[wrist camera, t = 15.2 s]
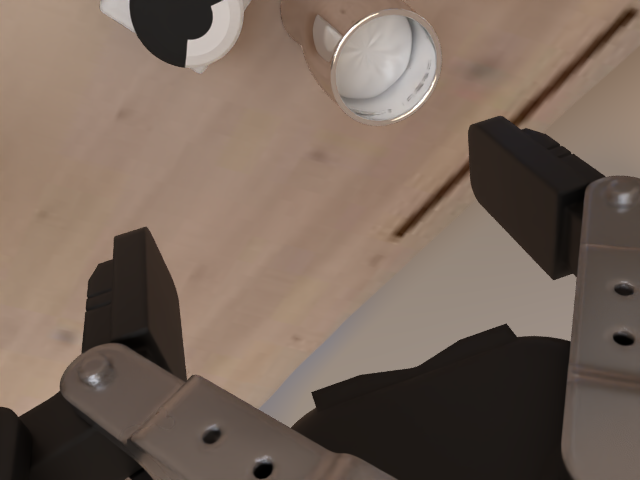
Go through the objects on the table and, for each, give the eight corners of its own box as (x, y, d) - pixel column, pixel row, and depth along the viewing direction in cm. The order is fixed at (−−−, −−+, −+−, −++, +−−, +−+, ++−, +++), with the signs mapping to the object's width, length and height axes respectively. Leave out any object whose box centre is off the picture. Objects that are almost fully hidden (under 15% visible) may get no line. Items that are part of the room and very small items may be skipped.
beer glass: (304, 71, 47) (362, 151, 35) (255, -7, 42) (303, 54, 30) (377, 20, 46) (463, 85, 34) (336, -64, 42) (416, -24, 30)
